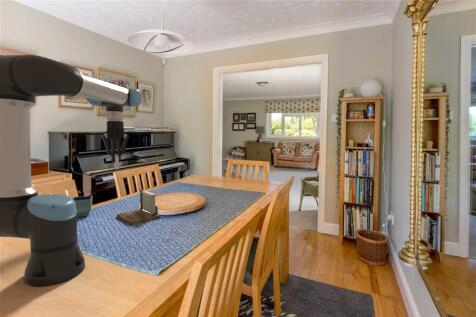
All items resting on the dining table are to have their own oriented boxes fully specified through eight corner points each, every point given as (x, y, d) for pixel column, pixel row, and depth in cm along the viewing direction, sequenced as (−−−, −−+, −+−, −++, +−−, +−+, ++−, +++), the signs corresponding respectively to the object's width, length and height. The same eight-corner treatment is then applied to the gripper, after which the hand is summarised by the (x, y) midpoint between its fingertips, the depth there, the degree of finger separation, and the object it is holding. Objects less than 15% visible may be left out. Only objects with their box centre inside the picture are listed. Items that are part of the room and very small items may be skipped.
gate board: (130, 225, 121) (130, 198, 120) (116, 217, 132) (116, 192, 131) (160, 218, 132) (160, 193, 130) (145, 210, 143) (144, 188, 141)
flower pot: (73, 213, 135) (73, 196, 135) (93, 212, 139) (92, 195, 138) (71, 219, 127) (70, 201, 127) (91, 217, 131) (91, 199, 130)
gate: (142, 209, 137) (141, 191, 136) (145, 208, 139) (145, 190, 138) (152, 214, 130) (151, 194, 129) (155, 213, 132) (155, 194, 131)
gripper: (126, 121, 134) (127, 167, 137) (98, 120, 126) (100, 169, 128) (131, 121, 129) (132, 168, 131) (102, 119, 120) (104, 170, 123)
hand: (116, 168), depth 130 cm, fingers closed
